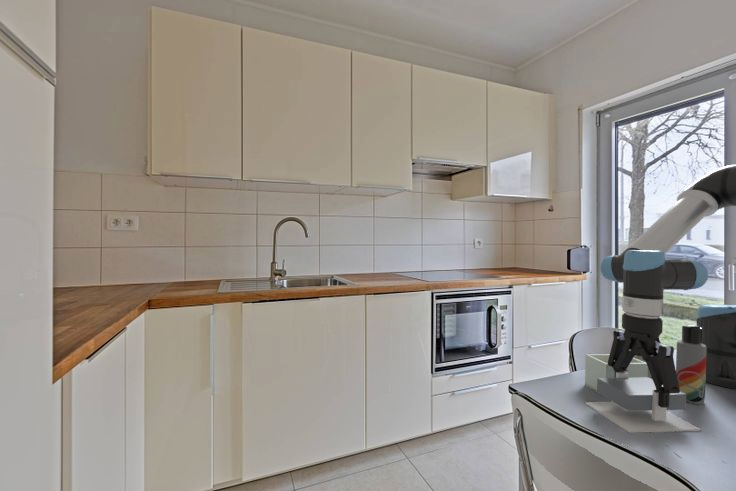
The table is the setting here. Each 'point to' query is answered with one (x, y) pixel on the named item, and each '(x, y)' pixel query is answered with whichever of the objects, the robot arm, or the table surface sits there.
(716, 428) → the table surface
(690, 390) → the lotion bottle
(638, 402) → the lid
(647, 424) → the mat
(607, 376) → the storage box
